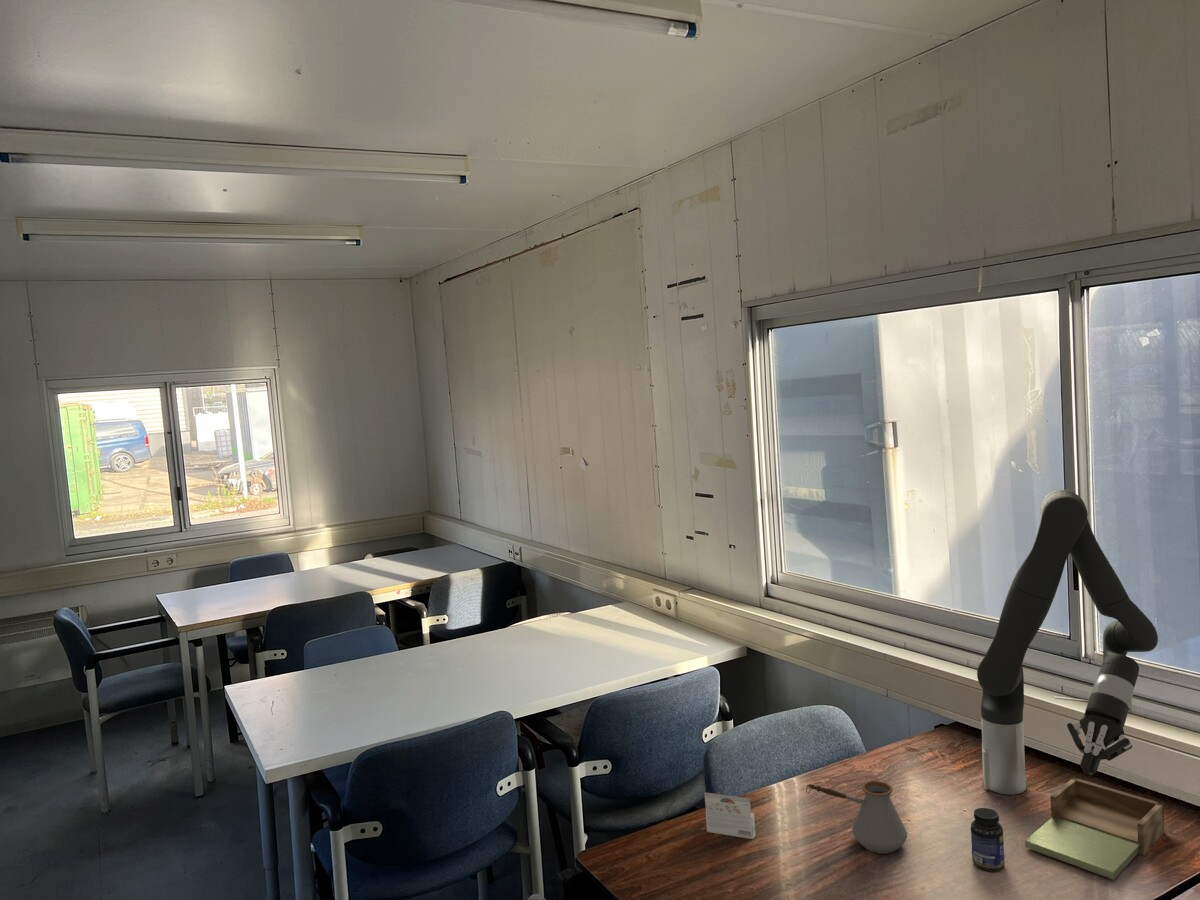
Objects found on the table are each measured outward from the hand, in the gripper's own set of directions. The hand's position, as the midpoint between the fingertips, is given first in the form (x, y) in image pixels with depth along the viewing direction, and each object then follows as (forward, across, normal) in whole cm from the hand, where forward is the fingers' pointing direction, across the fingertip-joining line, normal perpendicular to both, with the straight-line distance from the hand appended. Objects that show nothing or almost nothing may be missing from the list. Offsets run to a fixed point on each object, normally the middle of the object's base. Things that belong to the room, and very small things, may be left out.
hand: (1087, 773), depth 179 cm
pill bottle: (+26, -11, -4) cm, 29 cm away
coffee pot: (+36, -34, -12) cm, 50 cm away
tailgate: (+8, +1, +12) cm, 14 cm away
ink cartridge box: (+47, -58, -22) cm, 77 cm away
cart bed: (+5, 0, +17) cm, 18 cm away
